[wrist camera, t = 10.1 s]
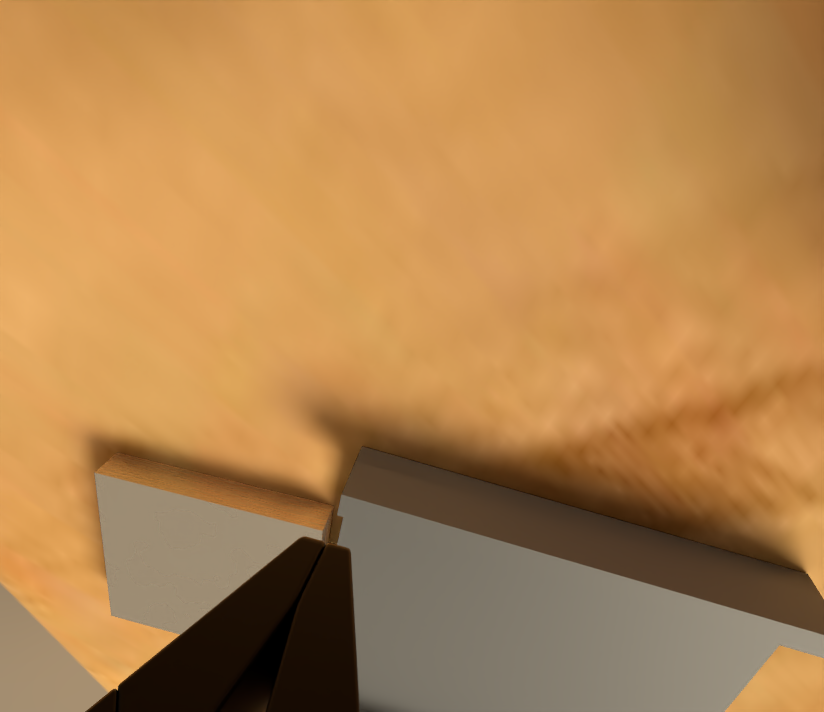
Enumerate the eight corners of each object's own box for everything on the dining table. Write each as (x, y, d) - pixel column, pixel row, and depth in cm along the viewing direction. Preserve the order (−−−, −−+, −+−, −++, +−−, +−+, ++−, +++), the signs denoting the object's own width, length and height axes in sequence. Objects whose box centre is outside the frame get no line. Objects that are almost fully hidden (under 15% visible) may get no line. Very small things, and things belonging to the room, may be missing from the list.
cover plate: (336, 498, 24) (322, 530, 22) (318, 632, 28) (305, 668, 26) (124, 445, 25) (94, 472, 23) (136, 583, 29) (111, 615, 27)
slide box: (807, 574, 21) (851, 643, 18) (639, 786, 28) (653, 858, 26) (362, 446, 22) (341, 494, 19) (308, 684, 29) (288, 743, 26)
